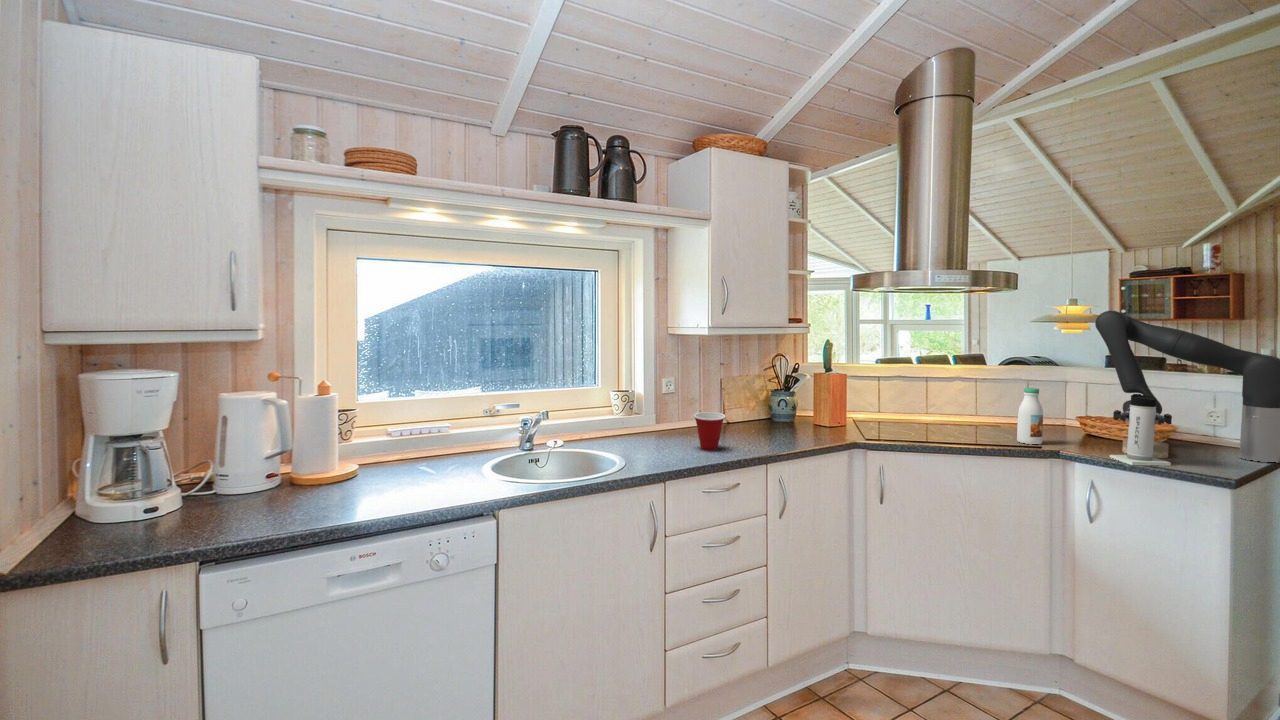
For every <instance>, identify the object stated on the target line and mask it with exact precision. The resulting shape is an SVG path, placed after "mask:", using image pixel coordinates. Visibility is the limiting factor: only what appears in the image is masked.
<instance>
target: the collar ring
mask: <svg viewBox="0 0 1280 720" xmlns="http://www.w3.org/2000/svg"><path fill="white" fill-rule="evenodd" d="M1127 444H1128V438H1125V439H1124V438H1123V440H1122V451H1121V452H1122V453H1123V452H1124V453H1123V454H1126V453H1127ZM1169 446H1170V445H1169V444H1168V442H1167V443H1166V442H1163V441H1157V440H1154V445H1153V454H1152V455H1153V458H1157V459H1167V458H1169Z"/></svg>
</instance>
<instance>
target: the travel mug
mask: <svg viewBox="0 0 1280 720" xmlns="http://www.w3.org/2000/svg"><path fill="white" fill-rule="evenodd" d="M1156 399H1157V398H1154V397H1151V396H1145V395H1143V394H1141V393H1132V394H1131V395H1130V400H1131V403H1130V406H1131V407H1130V414H1129V422H1128V432H1127V439H1128V444H1127V454H1126V455H1127V457H1128V458H1131V459H1136V460H1146V461H1149V460H1152V459H1153V455H1152V454H1153V445H1154V441H1155V430H1156V429H1155V427H1156V424H1155V417H1156Z"/></svg>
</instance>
